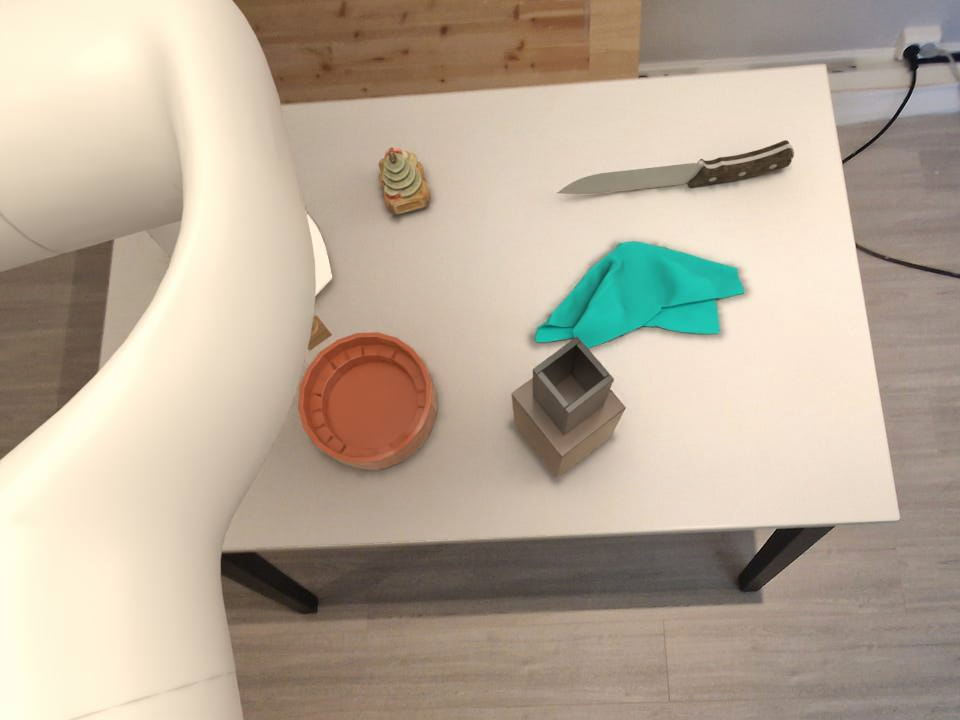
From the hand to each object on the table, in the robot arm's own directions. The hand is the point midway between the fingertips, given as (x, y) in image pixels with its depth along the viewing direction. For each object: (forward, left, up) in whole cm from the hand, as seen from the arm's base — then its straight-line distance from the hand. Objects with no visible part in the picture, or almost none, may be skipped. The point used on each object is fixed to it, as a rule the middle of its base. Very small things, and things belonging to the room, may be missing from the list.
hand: (266, 280), depth 51 cm
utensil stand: (-16, -16, -36) cm, 43 cm away
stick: (0, 0, -13) cm, 13 cm away
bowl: (0, 0, -36) cm, 36 cm away
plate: (+25, +2, -37) cm, 44 cm away
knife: (+1, -47, -37) cm, 60 cm away
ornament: (+22, -20, -37) cm, 47 cm away
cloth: (-8, -34, -37) cm, 51 cm away
